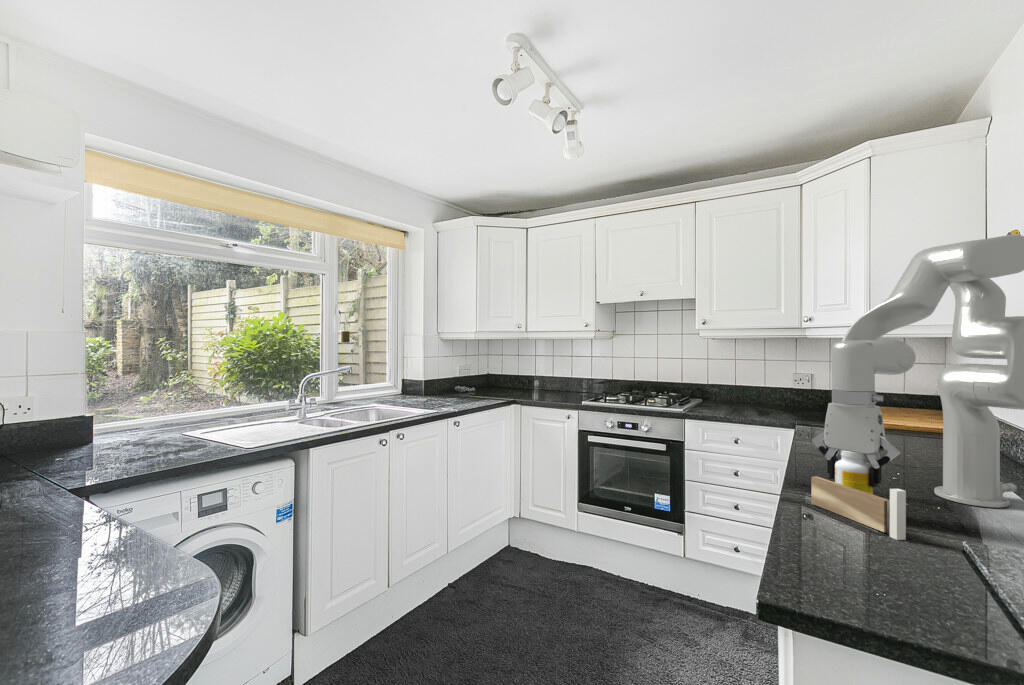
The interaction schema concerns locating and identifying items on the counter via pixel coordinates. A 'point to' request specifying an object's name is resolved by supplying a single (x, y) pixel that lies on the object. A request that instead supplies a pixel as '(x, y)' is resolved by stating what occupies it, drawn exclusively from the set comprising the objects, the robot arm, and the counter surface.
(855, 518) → the wooden plank
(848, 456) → the supplement bottle
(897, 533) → the gate post
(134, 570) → the counter surface
